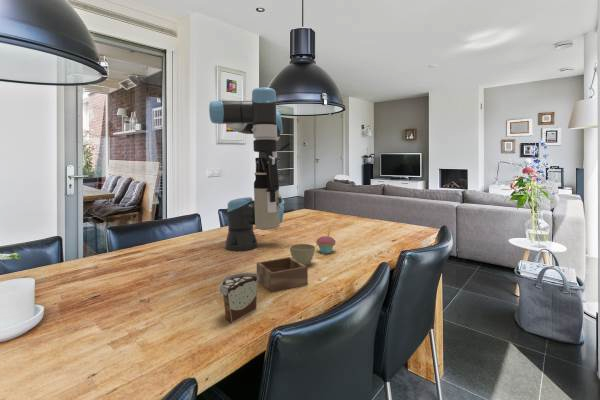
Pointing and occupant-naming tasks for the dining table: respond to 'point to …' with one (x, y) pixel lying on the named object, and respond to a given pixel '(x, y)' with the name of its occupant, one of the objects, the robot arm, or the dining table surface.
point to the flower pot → (302, 253)
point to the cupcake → (326, 243)
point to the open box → (282, 274)
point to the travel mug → (264, 205)
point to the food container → (239, 295)
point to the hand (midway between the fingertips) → (267, 210)
